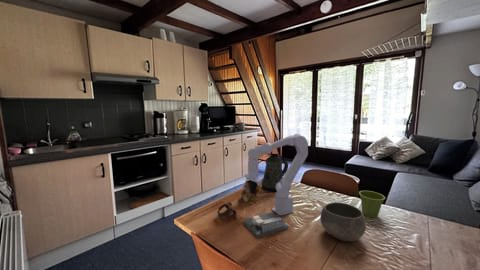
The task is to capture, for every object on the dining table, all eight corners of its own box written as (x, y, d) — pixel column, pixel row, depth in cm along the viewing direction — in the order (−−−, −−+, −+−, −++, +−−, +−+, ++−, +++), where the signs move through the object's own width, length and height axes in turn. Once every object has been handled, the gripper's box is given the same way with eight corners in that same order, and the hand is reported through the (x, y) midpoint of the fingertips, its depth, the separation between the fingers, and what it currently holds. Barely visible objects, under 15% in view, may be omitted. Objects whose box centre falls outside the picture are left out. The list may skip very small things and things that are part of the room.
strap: (278, 218, 103) (278, 216, 103) (282, 221, 100) (282, 219, 100) (255, 224, 97) (255, 221, 97) (258, 227, 94) (258, 224, 94)
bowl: (365, 254, 80) (367, 224, 78) (316, 240, 89) (318, 212, 87) (363, 231, 95) (365, 205, 94) (322, 221, 104) (323, 197, 103)
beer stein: (256, 188, 147) (257, 154, 144) (271, 181, 162) (271, 150, 159) (277, 194, 137) (278, 158, 134) (290, 186, 151) (291, 153, 149)
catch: (257, 221, 101) (257, 215, 100) (263, 227, 96) (263, 220, 95) (252, 222, 99) (252, 216, 99) (258, 228, 94) (258, 222, 94)
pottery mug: (238, 223, 103) (230, 211, 100) (221, 229, 105) (213, 217, 102) (239, 206, 114) (232, 195, 112) (224, 212, 116) (217, 201, 113)
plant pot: (361, 218, 107) (362, 198, 106) (355, 208, 118) (356, 189, 117) (387, 222, 104) (389, 200, 102) (378, 211, 115) (380, 191, 114)
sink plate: (271, 215, 110) (271, 207, 110) (288, 228, 98) (288, 220, 97) (243, 222, 103) (243, 214, 102) (257, 237, 90) (257, 229, 90)
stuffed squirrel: (236, 201, 126) (236, 181, 125) (250, 194, 137) (250, 175, 135) (249, 206, 120) (249, 184, 118) (262, 198, 130) (263, 178, 129)
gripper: (240, 167, 117) (240, 190, 119) (253, 174, 104) (253, 199, 106) (251, 165, 120) (251, 188, 122) (265, 172, 107) (264, 197, 109)
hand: (252, 193), depth 114 cm, fingers closed
